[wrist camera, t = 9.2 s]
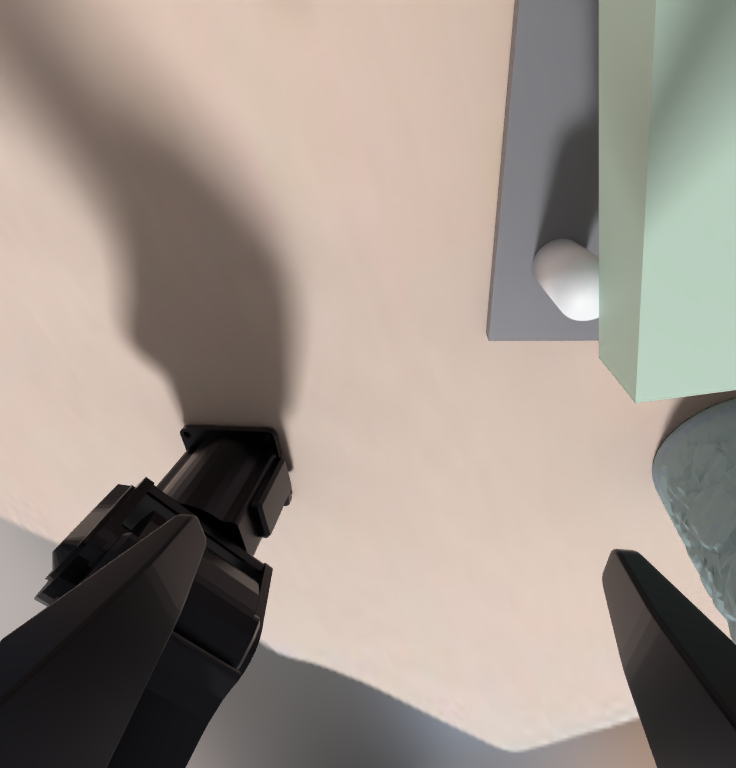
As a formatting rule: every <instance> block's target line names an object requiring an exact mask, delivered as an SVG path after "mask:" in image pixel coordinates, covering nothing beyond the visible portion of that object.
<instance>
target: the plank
mask: <svg viewBox="0 0 736 768" xmlns="http://www.w3.org/2000/svg"><path fill="white" fill-rule="evenodd" d="M599 358H600V360H601V361H602V362H603V363H604V365H605V366H606V367H607V368H608V370H609V371H610V372H611V373H612V375H613V376H614V377H615V378H616V380H617V381H618V382H619V383H620V385H621V386H622V387H623V388H624V390H625V391H626V392H627V393H628V394H629V396H630V397H631V398H632V399H633V401H634V402H635V403H641V402H648V401H656V400H664V399H671V398H679V397H687V396H694V395H702V394H710V393H717V392H725V391H733V390H736V0H599Z"/></svg>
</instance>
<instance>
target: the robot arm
mask: <svg viewBox="0 0 736 768" xmlns="http://www.w3.org/2000/svg"><path fill="white" fill-rule="evenodd" d="M188 432H189V433H188ZM180 435H181V437H182V440H183V442H184V445H185V447H186V450H187V451H186V452H185V454H184V455H183V456H182V457H181V458H180V459H179V461H178V462H177V463H176V464H175V465H174V466H173V468H172V469H171V470H170V471H169V472H168V474H167V475H166V476H165V477H164V478H163V479H162V481H161V482H160V483H159V484H158V485H157V486H155V485H153V484H154V482H152V481H151V480H150V479H148V478H147V477H145V478H144V479H143V480H142V481H141V482H140V483H139V484H138V485H137V486H136V487H134V486H133V485H131V486H127V485H120V484H118V485H117V486H116V487H115V488H114V489H113V490H112V491H111V492H110V493H109V494H108V495H107V496H106V497H105V498H104V499H103V500H102V501H101V502H100V503H99V504H98V505H97V506H96V507H95V508H94V509H93V510H92V511H91V512H90V513H89V514H88V516H87V517H86V518H85V519H84V520H83V521H82V522H81V523H80V524H79V525H78V526H77V527H76V528H75V529H74V530H73V531H72V532H71V533H70V534H69V535H68V536H67V537H66V538H65V539H64V540H63V541H62V543H61V544H60V545H59V546H58V547H57V548H56V549H55V550H54V551H53V570H52V571H51V572H50V573H49V575H48V576H47V577H46V578H45V579H47V580H48V582H47V583H46V585H45V586H44V587H43V588H42V589H41V590H40V592H39V593H38V594H37V595H36V597H35V598H34V599H35V600H37V601H39V602H40V603H42V604H44V605H46V606H47V607H46V608H45V609H44V610H42V611H41V612H40V613H38V614H37V615H36V616H34V617H33V618H31V619H30V620H28V621H27V622H26V623H24V624H23V625H21V626H20V627H19V628H17V629H16V630H14V631H13V632H12V633H10V634H9V635H7V636H6V637H4V638H3V639H2V640H1V641H0V768H185V767H186V765H187V764H188V761H189V760H190V757H191V756H192V754H193V752H194V749H195V748H196V746H197V744H198V742H199V740H200V738H201V736H202V734H203V732H204V730H205V728H206V726H207V725H208V723H209V721H210V719H211V718H212V716H213V715H214V713H215V712H216V710H217V708H218V707H219V705H220V703H221V702H222V700H223V699H224V698H225V696H226V695H227V694H228V692H229V691H230V690H231V688H232V687H233V686H234V685H235V684H236V683H237V682H238V680H239V679H240V677H241V676H242V674H243V673H244V672H245V670H246V668H247V666H248V665H249V663H250V661H251V659H252V657H253V655H254V653H255V651H256V648H257V645H258V643H259V640H260V636H261V632H262V627H263V621H264V616H265V610H266V604H267V599H268V593H269V588H270V582H271V576H272V571H273V568H272V567H270V566H269V565H268V564H266V563H264V564H263V563H262V562H260V561H259V560H258V559H256V558H255V557H253V556H254V554H255V552H256V549H257V547H258V545H259V543H260V541H261V539H262V538H268V537H269V536H270V535H271V533H272V531H273V529H274V527H275V524H276V522H277V520H278V517H279V515H280V513H281V511H282V508H283V506H287V505H289V504H290V502H291V499H292V496H291V492H290V490H291V483H290V478H289V474H288V470H287V465H286V461H285V460H284V458H282V454H281V449H280V445H279V441H278V437H277V433H276V432H275V431H274V430H273V429H271V428H258V427H231V426H204V425H186V426H184V427H183V428H182V430H181V431H180ZM266 435H269V436H270V437H268V436H266ZM602 582H603V588H604V592H605V597H606V601H607V605H608V609H609V613H610V617H611V621H612V626H613V630H614V634H615V638H616V642H617V646H618V651H619V655H620V659H621V662H622V666H623V670H624V673H625V676H626V679H627V682H628V686H629V688H630V691H631V694H632V697H633V700H634V703H635V706H636V708H637V711H638V714H639V717H640V720H641V723H642V726H643V728H644V731H645V734H646V737H647V740H648V743H649V746H650V748H651V751H652V754H653V757H654V760H655V763H656V766H657V768H736V644H735V643H734V642H733V641H732V640H730V639H729V638H728V637H727V636H726V635H725V634H724V633H723V632H722V631H721V630H720V629H719V628H718V627H717V626H716V625H715V624H714V623H713V622H712V621H710V620H709V619H708V618H707V617H706V616H705V615H704V614H703V613H702V612H701V611H700V610H699V609H698V608H697V607H696V606H695V605H694V604H693V603H692V602H690V601H689V600H688V599H687V598H686V597H685V596H684V595H683V594H682V593H681V592H680V591H679V590H678V589H677V588H676V587H675V586H674V585H673V584H671V583H670V582H669V581H668V580H667V579H666V578H665V577H664V576H663V575H662V574H661V573H660V572H659V571H658V570H657V569H656V568H655V567H654V566H653V565H651V564H650V563H649V562H648V561H647V560H646V559H645V558H644V557H643V556H642V555H641V554H640V553H638V552H636V551H633V550H624V549H614V550H612V551H611V553H610V556H609V558H608V561H607V564H606V566H605V569H604V572H603V576H602Z"/></svg>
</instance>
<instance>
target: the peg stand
mask: <svg viewBox="0 0 736 768" xmlns="http://www.w3.org/2000/svg"><path fill="white" fill-rule="evenodd" d="M486 334H487V337H488V341H583V340H599V0H515V7H514V19H513V30H512V42H511V53H510V65H509V76H508V88H507V99H506V111H505V122H504V134H503V145H502V157H501V168H500V180H499V191H498V203H497V214H496V226H495V237H494V249H493V260H492V272H491V283H490V295H489V306H488V318H487V329H486Z"/></svg>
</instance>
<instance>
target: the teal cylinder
mask: <svg viewBox="0 0 736 768" xmlns="http://www.w3.org/2000/svg"><path fill="white" fill-rule="evenodd" d="M652 475H653V481H654V484H655V488H656V490H657V492H658V494H659V496H660V498H661V500H662V502H663V504H664V506H665V508H666V510H667V512H668V514H669V516H670V518H671V520H672V522H673V524H674V525H675V527H676V529H677V532H678V534H679V536H680V537H681V539H682V541H683V542H684V544H685V546H686V549H687V553H688V555H689V557H690V559H691V561H692V562H693V564H694V566H695V568H696V569H697V571H698V572H699V574H700V578H701V581H702V583H703V585H704V587H705V589H706V591H707V592H708V594H709V595H710V597H711V598H712V600H713V603H714V605H715V607H716V608H717V610H718V611H719V612H720V613H721V614H722V615H723V616H724V617H725V618H726V620H727V622H728V625H729V630H730V635H731V638H732V640H733V642H734V643H735V644H736V398H735V399H732V400H728V401H725V402H722V403H720V404H717V405H715V406H712V407H710V408H707V409H705V410H704V411H702V412H700V413H698V414H696V415H695V416H693V417H691V418H690V419H688V420H687V421H685V422H684V423H682V424H681V425H680V426H679V427H677V428H676V429H675V430H674V431H673V432H672V433H671V434H670V435H669V436H668V437H667V438H666V439H665V440H664V442H663V443H662V445H661V446H660V448H659V449H658V451H657V454H656V456H655V458H654V463H653V468H652Z"/></svg>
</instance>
